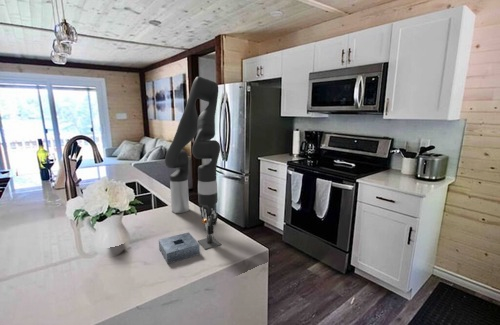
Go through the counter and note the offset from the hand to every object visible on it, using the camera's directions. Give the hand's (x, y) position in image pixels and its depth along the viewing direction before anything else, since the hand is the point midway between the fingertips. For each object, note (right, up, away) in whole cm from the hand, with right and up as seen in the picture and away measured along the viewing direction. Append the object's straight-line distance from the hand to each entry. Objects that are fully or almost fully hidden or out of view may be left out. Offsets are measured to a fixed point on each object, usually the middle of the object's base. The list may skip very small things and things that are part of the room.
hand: (209, 231), depth 105 cm
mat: (0, -5, +1) cm, 5 cm away
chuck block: (-11, -6, -6) cm, 13 cm away
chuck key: (0, -4, +1) cm, 4 cm away
